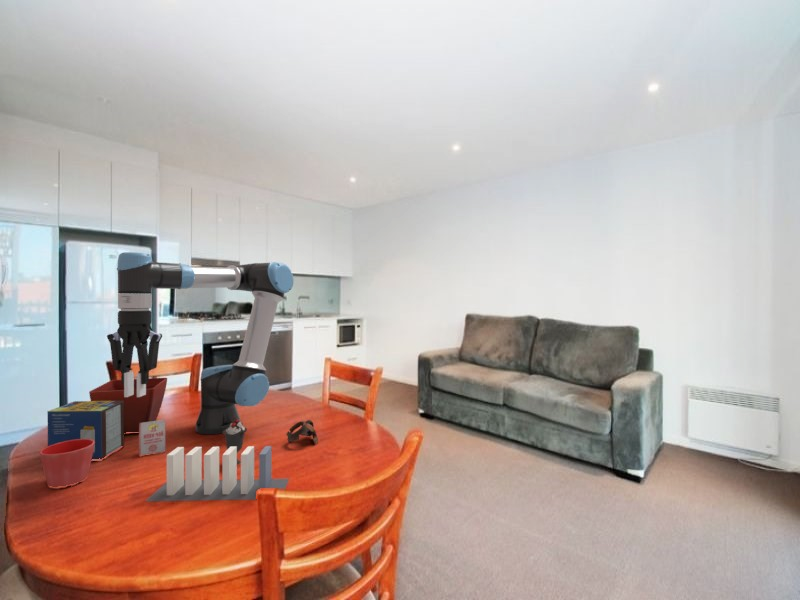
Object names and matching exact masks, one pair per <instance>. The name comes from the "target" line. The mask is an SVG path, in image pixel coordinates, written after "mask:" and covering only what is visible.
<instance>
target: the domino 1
mask: <svg viewBox="0 0 800 600" xmlns="http://www.w3.org/2000/svg"><path fill="white" fill-rule="evenodd" d="M184 480H185V447H184V446H177V447H176V448H175V449H173V450H172V451H170V452H169V453H167V454H166V482H167V495H174V494H175V493H176V492H177V491H178V490H179V489H180V488H181V487H182V486H183V485H184Z"/></svg>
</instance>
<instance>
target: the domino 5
mask: <svg viewBox="0 0 800 600" xmlns="http://www.w3.org/2000/svg"><path fill="white" fill-rule="evenodd" d="M240 461H241V463H240V479H241V494H248V492H249V491H250V489H251V488H252V486H253V485H254V479H255V446H254V445H252V446H251V445H248V446H247V447H246V448H245V449H244V450H243V452H241V454H240Z"/></svg>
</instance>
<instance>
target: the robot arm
mask: <svg viewBox="0 0 800 600" xmlns="http://www.w3.org/2000/svg"><path fill="white" fill-rule="evenodd" d="M116 270H117V308H118V309H119V311H118V312H117V324H118V328H117V331H116V332H113V333H108V334H107V336H106V337H107V340H108V342H109V345H110V353H111V361H112V362H111V363H112V369H113V370H114V371H118V372H120V375H121V376H120V377H121V378H120V380H121V383H122V384H124V397H129V396H131V395H134V379H135V378H134V377H135V376H134V375H135V374H134V373H135V372H134V370H133V368H132V362H133V356H134V347H135V348H136V351H137V361H138V367H139V368H138V369H139V370H138V371H137V372H136V379H137V397H141V396H143V395H146V383H148V382H149V378H150V375H149V374H150V373H149V372H150V371H152V370H154V369H157V365H158V358H159V348H160V342H161V340H162V338H163V334H162V333H157V332H155V331H153V328H152V326H151V325H152V322H153V319H152V318H153V317H152V316H153V313H152V310H150V309H151V308H152V307H153V306H152V305H153V303H152V301H153V300H152V297H153V296H152V295H153V294H152V293H153V292H152V291H153V289H156V290H157V289H158V290H159V289H167V290H168V289H169V290H171V289H172V290H173V289H175V290H176V289H177V290H182V289H184V290H186V289H191V288H192V289H193V288H194V289H196V288H197V289H202V288H203V289H205V288H206V289H210V288H216V289H217V288H219V289H220V288H221V289H222V288H226V289H228V290H230V291H241V292H242V291H243V292H251V294H252V296H253V297H254V301H253V304H252V307H251V312H250V316H249V319H248V323H247V327H246V331H245V335H244V339H243V342H242V345H241V349H240V353H239V357H238V360H237V361H236V362H235V363H233V364H222V365H216V366H210V367H206V368H203V369H202V371H201V372H200V373H201V374H200V410H199V413H198V416H197V418H196V419H197V420H196V422H195V432H196V433H197V432H198V434H200V435H217V434H218V435H220V434H223V433H222V432H223V431H224V430H225V429H227V428H228V427H229V426H230V424H231V423H232V422H233V419H234V421H235V419H237V420H238V421H240V422H241V417H240V414H239V411H238V409H237V406H240V407H255V406H257V405H258V404H260V403H261V402H263V400H264V399H265V398H266V396H267V394H268V392H269V390H270V381H269V378H268V376H266V373H267V369H266V368H265V366H264V361H265V358H266V355H267V354H266V353H267V350H268V346H269V342H270V338H271V334H272V329H273V325H274V321H275V317H276V313H277V309H278V304H279V303H280V302H282V301H284V297H285V294H286V293H289V292H290V291H291V290H292V289H293V287H294V281H295V280H294V275H293V273H292V270H291V269H290V267H289V266H288V265H287V264H285V263H283V262H276V261H271V262H255V263H247V264H240V265H239V264H237V265H235V264H234V265H233V264H231V265H228V266H227V267H220V266H217V267H216V266H197V265H196V266H194V265H192V266H191V265H189V264H183V263H180V262H179V263H174V262H173V263H172V262H171V263H170V262H157V261H154V260H153V258H152V255H151V254H149V253H144V252H131V251H130V252H120V253H119V255H118V258H117V268H116ZM121 339H122V341H121ZM148 339H149V340H150V341H149V343H148ZM235 416H236V417H235ZM234 417H235V418H234Z"/></svg>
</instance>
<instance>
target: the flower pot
mask: <svg viewBox="0 0 800 600" xmlns="http://www.w3.org/2000/svg"><path fill="white" fill-rule="evenodd" d="M94 445H95V441H94V440H91V439H76V440H69V441H64V442H60V443H57V444H53V445H50V446H48V445H47V446H45V447H44V448H42V449H41V450H40V451H39V457H40V461H41V464H42V469H43V473H44V476H45V480H46V484H47V486H48V485H49V486H52V487H58V486H66V485H70V484H74V483H77V482H80V481H82V480H84V479H85V478H86V477H87V478H88V476H89V471H90V467H91V463H92V462H91V460H92V455H93V450H94ZM84 481H85V480H84Z"/></svg>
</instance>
